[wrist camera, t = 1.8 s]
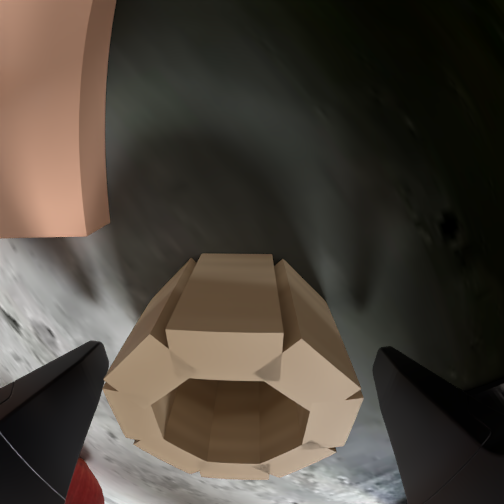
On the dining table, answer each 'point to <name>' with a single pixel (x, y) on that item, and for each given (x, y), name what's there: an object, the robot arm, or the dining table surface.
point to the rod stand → (53, 117)
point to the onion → (84, 486)
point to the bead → (235, 372)
